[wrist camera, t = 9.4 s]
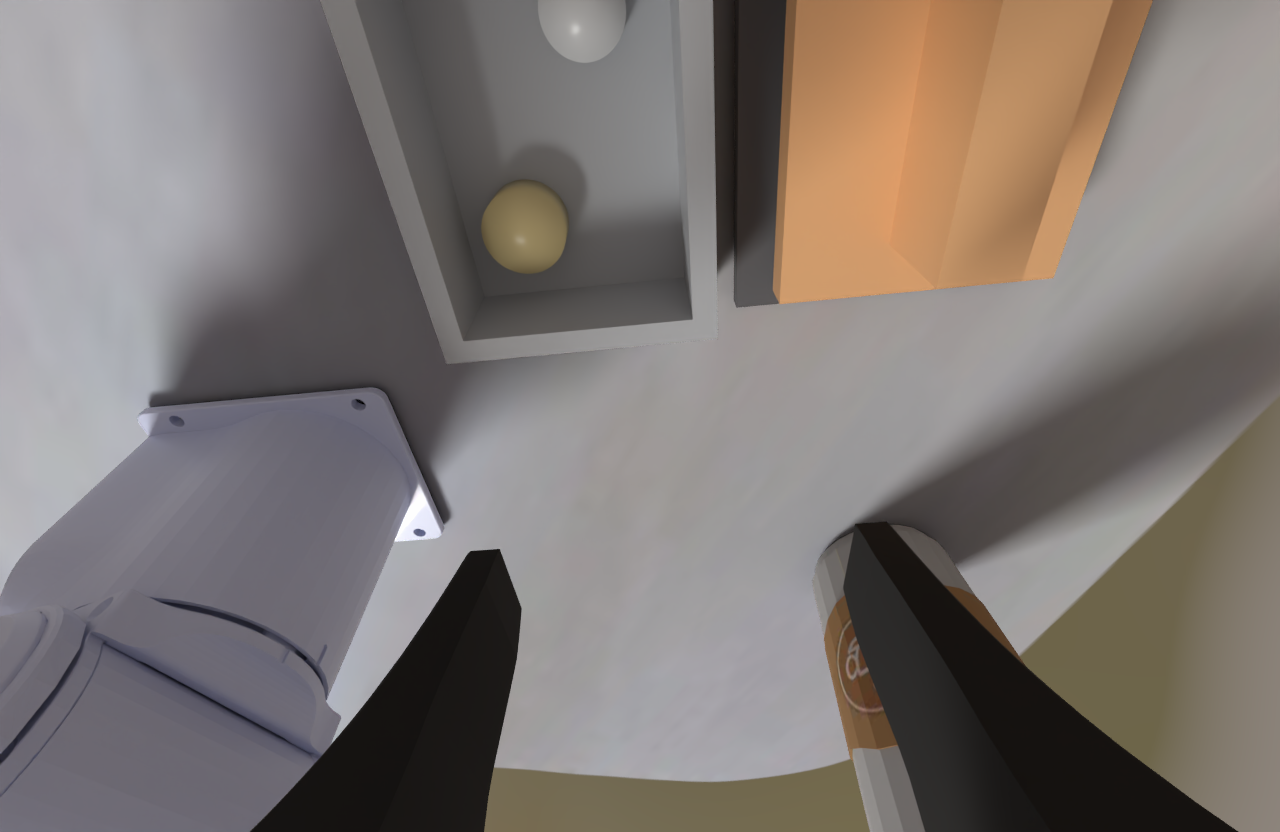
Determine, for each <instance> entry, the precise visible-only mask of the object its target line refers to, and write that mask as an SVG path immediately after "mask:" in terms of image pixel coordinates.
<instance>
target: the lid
mask: <svg viewBox="0 0 1280 832" xmlns="http://www.w3.org/2000/svg"><path fill="white" fill-rule="evenodd" d="M1152 1H1153V0H787V1H786V22H785V43H784V64H783V85H782V106H781V127H780V148H779V169H778V190H777V211H776V231H775V252H774V273H773V292H774V294H775V296H776V298H777V300H778V302H779V304H786V303H796V302H807V301H817V300H828V299H838V298H849V297H859V296H870V295H880V294H891V293H901V292H912V291H922V290H933V289H943V288H954V287H965V286H975V285H986V284H996V283H1007V282H1017V281H1028V280H1038V279H1049V278H1053V277H1054V275H1055V272H1056V269H1057V266H1058V263H1059V261H1060V258H1061V255H1062V252H1063V249H1064V247H1065V244H1066V241H1067V238H1068V236H1069V233H1070V230H1071V227H1072V224H1073V222H1074V219H1075V216H1076V213H1077V210H1078V208H1079V205H1080V202H1081V199H1082V197H1083V194H1084V191H1085V188H1086V185H1087V183H1088V180H1089V177H1090V174H1091V171H1092V169H1093V166H1094V163H1095V160H1096V157H1097V155H1098V152H1099V149H1100V146H1101V144H1102V141H1103V138H1104V135H1105V132H1106V130H1107V127H1108V124H1109V121H1110V118H1111V116H1112V113H1113V110H1114V107H1115V104H1116V102H1117V99H1118V96H1119V93H1120V91H1121V88H1122V85H1123V82H1124V79H1125V77H1126V74H1127V71H1128V68H1129V65H1130V63H1131V60H1132V57H1133V54H1134V51H1135V49H1136V46H1137V43H1138V40H1139V38H1140V35H1141V32H1142V29H1143V26H1144V24H1145V21H1146V18H1147V15H1148V12H1149V10H1150V7H1151V4H1152Z"/></svg>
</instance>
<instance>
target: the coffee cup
mask: <svg viewBox="0 0 1280 832" xmlns="http://www.w3.org/2000/svg"><path fill="white" fill-rule="evenodd" d="M891 526H892V527H893V528H894V530H895V531H896V532H897V533H898V534H899V535H900V537H901V538H902V539H903V540H904V541H905V542H906V543H907V545H908V546H909V547H910V548H911V549H912V550H913V551H914V553H915V554H916V555H917V556H918V557H919V558H920V559H921V560H922V562H923V563H924V564H925V565H926V566H927V567H928V568H929V569H930V570H931V571H932V573H933V574H934V575H935V576H936V577H937V578H938V579H939V580H940V581H941V582H942V584H943V585H944V586H945V587H946V588H947V589H948V590H949V591H950V592H951V593H952V594H953V595H954V596H955V597H956V598H957V599H958V600H959V601H960V602H961V603H962V604H963V606H964V607H965V608H966V609H967V610H968V611H969V612H970V613H971V614H972V615H973V616H974V617H975V618H976V619H977V620H978V621H979V622H980V623H981V624H982V625H983V626H984V627H985V628H986V629H987V630H988V631H989V632H990V633H991V634H992V635H993V636H994V637H995V638H996V639H997V640H998V641H999V642H1000V643H1001V644H1003V645H1004V646H1005V647H1006V648H1007V649H1008V650H1009V651H1010V652H1011V653H1012V654H1013V655H1014V656H1015V657H1016V658H1017V659H1018V660H1020V661H1021V662H1022V663H1023V661H1022V660H1021V659H1020V657H1019V655H1018V654H1017V653H1016V651H1015V650H1014V648H1013V647H1012V645H1011V644H1010V642H1009V641H1008V639H1007V638H1006V636H1005V635H1004V634H1003V632H1002V631H1001V629H1000V628H999V626H998V625H997V623H996V622H995V620H994V619H993V617H992V616H991V615H990V613H989V612H988V610H987V609H986V607H985V606H984V604H983V603H982V602H981V601H980V600H979V599H978V598H977V597H976V596H975V594H974V593H973V591H972V590H971V588H970V587H969V585H968V584H967V582H966V581H965V580H964V578H963V577H962V575H961V574H960V572H959V571H958V569H957V568H956V566H955V565H954V563H953V562H952V560H951V559H950V557H949V556H948V554H947V553H946V552H945V550H944V549H943V548H942V547H941V546H940V545H939V543H938V542H937V541H936V540H934V539H932V538H930V537H928V536H926V535H925V534H924V533H922V532H920V531H918V530H916V529H914V528H912V527H907V526H902V525H891ZM853 533H854V532H852V533H850V534H848V535H846V536H844V537H842V538H841V539H839V540H837V541H836V542H834V543H833V544H832V545H831V546H830V547H828V548H827V549H826V550H825V551H824V553H823V554H822V556H821V557H820V558H819V560H818V562H817V566H816V569H815V575H814V578H813V591H814V596H815V600H816V604H817V608H818V613H819V617H820V621H821V625H822V630H823V634H824V641H825V651H826V655H827V659H828V664H829V668H830V672H831V677H832V681H833V685H834V690H835V694H836V698H837V703H838V707H839V711H840V716H841V720H842V724H843V729H844V733H845V737H846V742H847V746H848V750H849V755H850V758H851V759H852V761H853V762H854V765H855V770H856V774H857V778H858V782H859V787H860V791H861V795H862V799H863V804H864V808H865V812H866V816H867V820H868V825H869V829H870V832H925V830H924V826H923V823H922V820H921V816H920V813H919V809H918V806H917V802H916V799H915V796H914V792H913V789H912V785H911V782H910V779H909V775H908V773H907V770H906V767H905V764H904V761H903V758H902V755H901V752H900V750H899V747H898V745H897V742H896V739H895V737H894V734H893V732H892V729H891V727H890V724H889V722H888V719H887V716H886V714H885V711H884V709H883V706H882V704H881V701H880V699H879V696H878V693H877V691H876V688H875V686H874V683H873V681H872V678H871V676H870V673H869V670H868V668H867V665H866V663H865V660H864V657H863V655H862V652H861V649H860V647H859V644H858V641H857V639H856V636H855V632H854V628H853V625H852V621H851V617H850V614H849V610H848V606H847V602H846V598H845V594H844V590H843V585H844V580H845V574H846V569H847V564H848V559H849V554H850V549H851V543H852V538H853ZM1023 664H1024V663H1023ZM1024 665H1025V664H1024Z"/></svg>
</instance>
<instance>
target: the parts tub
mask: <svg viewBox="0 0 1280 832" xmlns="http://www.w3.org/2000/svg"><path fill="white" fill-rule="evenodd" d="M320 2H321V5H322V8H323V11H324V14H325V17H326V20H327V22H328V25H329V28H330V31H331V34H332V37H333V40H334V43H335V45H336V48H337V51H338V54H339V57H340V60H341V63H342V65H343V68H344V71H345V74H346V77H347V80H348V83H349V86H350V88H351V91H352V94H353V97H354V100H355V103H356V106H357V109H358V111H359V114H360V117H361V120H362V123H363V126H364V129H365V132H366V134H367V137H368V140H369V143H370V146H371V149H372V152H373V155H374V157H375V160H376V163H377V166H378V169H379V172H380V175H381V178H382V180H383V183H384V186H385V189H386V192H387V195H388V198H389V201H390V203H391V206H392V209H393V212H394V215H395V218H396V221H397V224H398V226H399V229H400V232H401V235H402V238H403V241H404V244H405V246H406V249H407V252H408V255H409V258H410V261H411V264H412V267H413V269H414V272H415V275H416V278H417V281H418V284H419V287H420V290H421V292H422V295H423V298H424V301H425V304H426V307H427V310H428V313H429V315H430V318H431V321H432V324H433V327H434V330H435V333H436V336H437V338H438V341H439V344H440V347H441V350H442V353H443V356H444V359H445V361H446V364H456V363H467V362H477V361H488V360H499V359H510V358H520V357H531V356H542V355H553V354H563V353H574V352H585V351H596V350H606V349H617V348H628V347H639V346H649V345H660V344H671V343H682V342H692V341H703V340H714V339H718V314H717V245H716V176H715V108H714V39H713V0H320Z"/></svg>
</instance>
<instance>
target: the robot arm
mask: <svg viewBox="0 0 1280 832" xmlns="http://www.w3.org/2000/svg"><path fill="white" fill-rule="evenodd" d="M355 399H359V400H361V401H363V402H364V403H365V405H364V404H360V403H358V402H357V401H356V400H355ZM179 417H180V418H181V419H180V418H179ZM137 420H138V422H139V424H140V425H141V427H142V428H143V429H144V431H145V432H146V433H147V434H148V436H149V437H148V438H147V439H146V440H145V441H144V442H143V443H142V444H141V445H140V446H139V447H138V448H136V449H135V450H134V451H133V452H132V453H131V454H130V455H129V456H128V457H127V458H126V459H125V460H123V461H122V462H121V463H120V464H119V465H118V466H117V467H116V468H115V469H114V470H113V471H111V472H110V473H109V474H108V475H107V476H106V477H105V478H104V479H103V480H102V481H101V482H100V483H98V484H97V485H96V486H95V487H94V488H93V489H92V490H91V491H90V492H89V493H88V494H87V495H85V496H84V497H83V498H82V499H81V500H80V501H79V502H78V503H77V504H76V505H75V506H73V507H72V508H71V509H70V510H69V511H68V512H67V513H66V514H65V515H64V516H63V517H62V518H60V519H59V520H58V521H57V522H56V523H55V524H54V525H53V526H52V527H51V528H50V529H48V530H47V531H46V532H45V533H44V534H43V535H42V536H41V537H40V538H39V539H38V540H37V541H35V542H34V543H33V544H32V545H31V546H30V548H29V549H28V550H27V551H26V552H25V553H24V554H23V555H22V557H21V558H20V559H19V561H18V562H17V564H16V565H15V567H14V568H13V570H12V571H11V573H10V575H9V577H8V579H7V581H6V583H5V585H4V588H3V591H2V594H1V597H0V832H484V826H485V819H486V811H487V803H488V795H489V790H490V784H491V778H492V773H493V768H494V763H495V759H496V754H497V749H498V745H499V740H500V736H501V731H502V726H503V722H504V717H505V712H506V708H507V703H508V698H509V694H510V689H511V684H512V679H513V674H514V670H515V665H516V660H517V652H518V642H519V633H520V621H521V606H520V603H519V600H518V598H517V595H516V592H515V590H514V587H513V584H512V581H511V579H510V576H509V573H508V571H507V568H506V565H505V562H504V560H503V557H502V554H501V552H500V549H494V550H480V551H470V552H469V553H468V554H467V556H466V557H465V559H464V561H463V562H462V564H461V565H460V567H459V569H458V570H457V572H456V573H455V575H454V577H453V578H452V580H451V581H450V583H449V585H448V586H447V588H446V589H445V591H444V593H443V594H442V596H441V597H440V599H439V600H438V602H437V603H436V605H435V606H434V608H433V610H432V611H431V613H430V614H429V616H428V617H427V619H426V620H425V622H424V623H423V625H422V626H421V627H420V629H419V630H418V632H417V633H416V635H415V636H414V638H413V639H412V641H411V642H410V644H409V645H408V646H407V648H406V649H405V651H404V652H403V654H402V655H401V656H400V658H399V659H398V661H397V662H396V663H395V665H394V666H393V667H392V669H391V670H390V671H389V673H388V674H387V675H386V677H385V678H384V679H383V681H382V682H381V683H380V685H379V686H378V687H377V689H376V690H375V691H374V693H373V694H372V695H371V697H370V698H369V699H368V701H367V702H366V703H365V704H364V706H363V707H362V708H361V709H360V711H359V712H358V713H357V714H356V716H355V717H354V718H353V719H352V720H351V722H350V723H349V724H348V725H347V727H346V728H345V729H344V730H343V731H342V732H341V734H340V735H339V736H338V737H337V738H336V740H335V741H334V742H333V743H332V740H333V737H334V735H335V732H336V730H337V727H338V725H339V722H340V720H341V716H340V715H339V714H338V713H336V712H335V711H333V710H332V709H331V708H330V707H329V706H328V704H327V702H326V700H327V698H328V696H329V693H330V691H331V688H332V686H333V684H334V681H335V679H336V677H337V674H338V672H339V670H340V667H341V665H342V663H343V660H344V658H345V656H346V653H347V651H348V649H349V646H350V644H351V642H352V639H353V637H354V635H355V632H356V630H357V628H358V625H359V623H360V621H361V618H362V616H363V613H364V611H365V609H366V606H367V604H368V602H369V599H370V597H371V595H372V592H373V590H374V588H375V585H376V583H377V581H378V578H379V576H380V574H381V571H382V569H383V567H384V564H385V562H386V560H387V557H388V555H389V553H390V550H391V548H392V546H393V543H394V542H397V541H410V540H422V539H434V538H438V537H440V536H441V535H442V533H443V530H444V524H443V522H442V520H441V518H440V515H439V513H438V511H437V508H436V506H435V504H434V502H433V499H432V497H431V495H430V492H429V490H428V488H427V486H426V483H425V481H424V479H423V476H422V474H421V472H420V470H419V467H418V465H417V463H416V460H415V458H414V456H413V454H412V451H411V449H410V447H409V444H408V442H407V440H406V438H405V435H404V433H403V431H402V428H401V426H400V424H399V422H398V419H397V417H396V415H395V412H394V410H393V408H392V406H391V403H390V401H389V399H388V397H387V395H386V394H385V393H384V392H383V391H382V390H380V389H377V388H372V387H368V388H357V389H346V390H336V391H325V392H314V393H303V394H292V395H281V396H270V397H259V398H248V399H237V400H227V401H216V402H205V403H194V404H183V405H172V406H161V407H150V408H146V409H145V410H143V411H142V412H141V413H140V414H139V415H138V416H137ZM421 529H422V530H421ZM843 590H844V594H845V598H846V602H847V606H848V610H849V614H850V617H851V621H852V625H853V628H854V632H855V636H856V639H857V641H858V644H859V647H860V649H861V652H862V655H863V657H864V660H865V663H866V665H867V668H868V670H869V673H870V676H871V678H872V681H873V683H874V686H875V688H876V691H877V693H878V696H879V699H880V701H881V704H882V706H883V709H884V711H885V714H886V716H887V719H888V722H889V724H890V727H891V729H892V732H893V734H894V737H895V739H896V742H897V745H898V747H899V750H900V752H901V755H902V758H903V761H904V764H905V767H906V770H907V773H908V775H909V779H910V782H911V785H912V789H913V792H914V796H915V799H916V802H917V806H918V809H919V813H920V816H921V820H922V823H923V826H924V830H925V832H1238V831H1236V830H1235V829H1234V828H1232V827H1231V826H1229V825H1228V824H1226V823H1225V822H1224V821H1222V820H1221V819H1219V818H1218V817H1216V816H1215V815H1213V814H1212V813H1211V812H1209V811H1207V810H1206V809H1205V808H1203V807H1202V806H1200V805H1199V804H1198V803H1196V802H1195V801H1193V800H1192V799H1191V798H1189V797H1188V796H1187V795H1185V794H1184V793H1183V792H1181V791H1180V790H1179V789H1177V788H1176V787H1175V786H1173V785H1172V784H1171V783H1169V782H1168V781H1167V780H1165V779H1164V778H1163V777H1161V776H1160V775H1159V774H1157V773H1156V772H1154V771H1153V770H1152V769H1150V768H1149V767H1148V766H1146V765H1145V764H1144V763H1142V762H1141V761H1140V760H1138V759H1137V758H1136V757H1134V756H1133V755H1132V754H1130V753H1129V752H1128V751H1126V750H1125V749H1124V748H1122V747H1121V746H1120V745H1118V744H1117V743H1116V742H1114V741H1113V740H1112V739H1111V738H1110V737H1108V736H1107V735H1106V734H1105V733H1103V732H1102V731H1101V730H1100V729H1099V728H1097V727H1096V726H1095V725H1094V724H1092V723H1091V722H1089V720H1087V719H1086V718H1085V717H1084V716H1082V715H1081V714H1080V713H1079V712H1078V711H1076V710H1075V709H1074V708H1073V707H1072V706H1071V705H1069V704H1068V703H1067V702H1066V701H1065V700H1063V699H1062V698H1061V697H1060V696H1059V695H1057V694H1056V693H1055V692H1054V691H1053V690H1052V689H1051V688H1049V687H1048V686H1047V685H1046V684H1045V683H1044V682H1043V681H1042V680H1040V679H1039V678H1038V677H1037V676H1036V675H1035V674H1034V673H1033V672H1032V671H1030V670H1029V669H1028V668H1027V667H1026V666H1025V665H1024V664H1023V663H1022V662H1021V661H1020V660H1018V659H1017V658H1016V657H1015V656H1014V655H1013V654H1012V653H1011V652H1010V651H1009V650H1008V649H1007V648H1006V647H1005V646H1004V645H1003V644H1001V643H1000V642H999V641H998V640H997V639H996V638H995V637H994V636H993V635H992V634H991V633H990V632H989V631H988V630H987V629H986V628H985V627H984V626H983V625H982V624H981V623H980V622H979V621H978V620H977V619H976V618H975V617H974V616H973V615H972V614H971V613H970V612H969V611H968V610H967V609H966V608H965V607H964V606H963V604H962V603H961V602H960V601H959V600H958V599H957V598H956V597H955V596H954V595H953V594H952V593H951V592H950V591H949V590H948V589H947V588H946V587H945V586H944V585H943V584H942V582H941V581H940V580H939V579H938V578H937V577H936V576H935V575H934V574H933V573H932V571H931V570H930V569H929V568H928V567H927V566H926V565H925V564H924V563H923V562H922V560H921V559H920V558H919V557H918V556H917V555H916V554H915V553H914V551H913V550H912V549H911V548H910V547H909V546H908V545H907V543H906V542H905V541H904V540H903V539H902V538H901V537H900V535H899V534H898V533H897V532H896V531H895V530H894V528H893V527H892V526H891V525H890V524H889V523H887V522H876V523H862V524H855V528H854V533H853V538H852V543H851V549H850V554H849V559H848V564H847V569H846V574H845V580H844V585H843ZM331 743H332V744H331Z"/></svg>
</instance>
